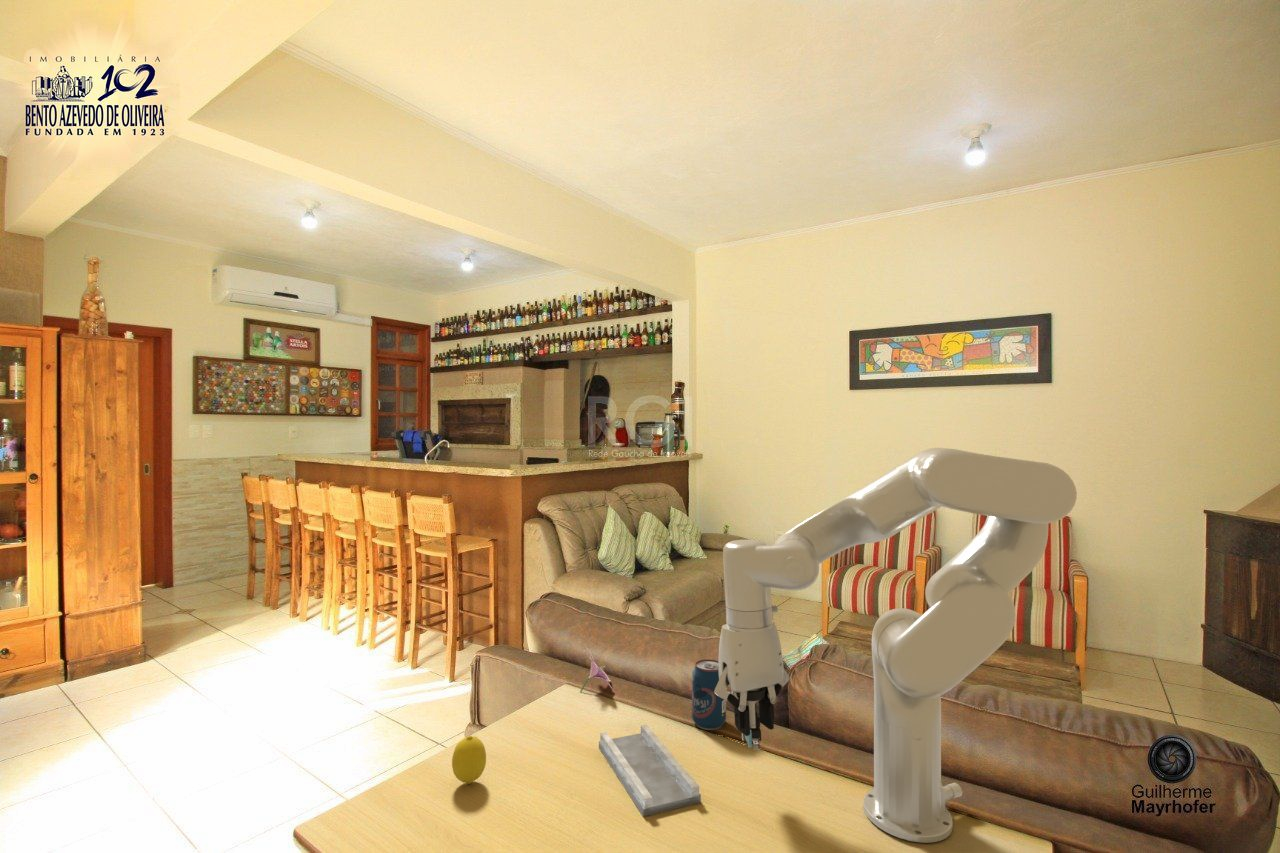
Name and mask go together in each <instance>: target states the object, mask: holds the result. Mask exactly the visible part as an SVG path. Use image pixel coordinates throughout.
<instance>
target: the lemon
mask: <svg viewBox="0 0 1280 853" xmlns="http://www.w3.org/2000/svg"><path fill="white" fill-rule="evenodd" d="M451 765H452V766H451V767H452V771H453V772H452V773H453V775H454V776H455V778H456V779H457V780H458V781H460V782H462V783H466V784H467V785H471V784H472V783H473V782H474V781H476V780H478V778H480V777H481V776H482V774H483V772H484V771H485V768H486V765H487V752H486V747H485V745H484V743H483V742H482V740H481V739H479V737H476V736H472V735H467V736H466V737H464V738H462V739H461V740H460V741H459V742H458V743H457V744H456V745H455V748H454V750H453V754H452V759H451Z"/></svg>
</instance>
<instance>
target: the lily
mask: <svg viewBox="0 0 1280 853" xmlns="http://www.w3.org/2000/svg"><path fill="white" fill-rule="evenodd" d="M583 645H584V647H586V649H587V650H588V652H589V654H590V656H588V658H589V659H590V673H589V676H588V678H587V679H586V680H585V682H584V684H583V685H582V688H581V690H580V692H579V693H582V692H583V690H584V688H585V686H586V684H587V683H588V681H589V680H590V679H591V678H596V679H598V680H602V681H603V682H605V683H606V684H607V685H608V686H609V687H610V689H611V690H612V691H613V693H615V691H614V689H613V688H612V686H611V685H610V683H612V681H611V680H610V678H609V676H608V675H607V673H606V672H605V671H604V668H605V667H607V666H606V665H604V664H602V665H601V666H598V665H597V664H596V663H595V659H594V656H593V654H592V652H591V651H590V649H589V647H587V645H586V644H585V643H583Z"/></svg>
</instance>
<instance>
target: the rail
mask: <svg viewBox="0 0 1280 853" xmlns="http://www.w3.org/2000/svg"><path fill="white" fill-rule="evenodd" d="M599 735H600V738H599V739H600V741H598V749H599V750H600V752H601V753H602V755H603V757H604V758H605V760H606V761H607V763H608V764H609V766H610V768H611V769H612V770H613V772H614V773H615V775H616V777H617V778H618V780H619V781H620V783H621V785H622V786H623V788H624V789H625V791H626V792H627V794H628V796H629V797H630V799H631V800H632V802H633V804H634V805H635V807H636V808H637V810H638V812H640V814H641V816H642V818H645V817H649V816H653V815H657V814H661V813H665V812H668V811H673V810H675V809H681V808H684V807H688V806H693V805H695V804H699V803H702V795H701V794H700V785H699V784H698V783H697V781H696V780H695V779H694V778H693V777H692V775H691V774H690V773H689V772H688V771H687V770H686V769H685V768H684V766H683V765H682V764H681V763H680V762H679V761H678V759H677V758H676V757H675V756H674V755H673V753H671V751H670V750H669V749H668V748H667V747H666V745H665V744H664V743H663V742H662V741H661V740H660V738H658V736H657V735H656V734H655V733H654V731H653V730H652V729H651V728H650V726H648V724H642V725H640V732H639V733H636V734H635V733H634V734H630V735H625V736H621V737H615V738H611V736H610V735H609V733H608V732H607V731H604V732H601V733H600V734H599Z"/></svg>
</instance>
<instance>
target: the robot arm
mask: <svg viewBox="0 0 1280 853" xmlns="http://www.w3.org/2000/svg"><path fill="white" fill-rule="evenodd" d="M1077 494H1078V493H1077V488H1076V485H1075V482H1074V480H1073V479H1072V478H1071V476H1070V475H1069V474H1068V473H1066V471H1065V470H1064V469H1061V468H1060V467H1058V466H1056V465H1054V464H1050V463H1046V462H1042V461H1035V460H1027V459H1026V460H1025V459H1017V458H1012V457H1004V456H996V455H989V454H984V453H976V452H972V451H968V450H967V451H966V450H961V449H957V448H956V449H955V448H944V447H932V448H927V449H925V450H923V451H921V452H920V451H919V452H918V453H917V454H915V455H913V456H912V457H910V458H909V459H907V460H905V461H904V462H902V463H901V464H899V465H897V466H896V467H894V468H893V469H890V470H889V471H888V472H886V473H884V474H883V475H882V476H879V477H878V478H876V479H874V480H873V481H872V482H870V483H868V484H866V485H865V486H863V487H862V488H860V489H858V490H857V491H855V492H853V493H851V494H850V495H847V496H846V497H844V498H843V499H840V500H839V501H838V502H836V503H834V504H833V505H831V506H829V507H827V508H824V509H823V510H821V511H820V512H817V513H815V514H814V515H813V516H811V517H809V518H807V519H806V520H804V521H803V522H801V523H799V524H797V525H796V526H795V527H793V528H791V529H790V530H788V531H787V532H785V533H783V534H782V535H780V536H779V538H777V539H776V541H775V542H774V543H773V545H772V544H771V545H767V544H766V543H765V542H764V541H761V540H757V539H736V540H735V539H734V540H732V541H729V542H727V543H726V544H724V547H723V550H722V555H723V556H722V560H723V580H724V583H723V584H724V598H725V602H724V603H725V615H726V616H725V618H726V624H723V625H722V626H721V629H720V635H719V636H720V637H719V643H718V661H719V681H718V684H717V686H716V688H715V690H714V693H715V694H716V695H717V696H719V697H720V698H722V699H724V700H726V702H729V704H730V705H731V706H733V710H734V711H733V712H734V725H735V727H736V728H735V729H737V730H738V731H739V732H740V733H741V734H742V733H743V736H744V735H745V736H749V735H750V720H749V711H748V710H747V709H746V699H747V691H750V690H755V689H759V688H763V687H765V688H766V691H765V697H764V698H762V699H761V700H760V701H758V711H759V712H758V714H759V715H758V716H759V718H760V724H761V725H763V726H764V727H765V728H767V729H768V730H774V729H775V727H774V726H775V724H774V721H775V709H774V708H775V704H776V703H777V697H778V696H779V694H780V692H781V690H782V689H783V688H784V686H785V685H786V684H787V683H788V682H789V681H790V680H791V679H790V675H789V674H788V672H787V671H786V669H785V667H784V659H783V653H782V652H783V651H782V644H781V640H780V635H779V632H778V627H777V624H776V622H774V621H773V620H774V614H777V613H778V610H779V609H778V606H777V605H776V604H773V603H772V601H773V600H772V588H773V589H779V590H786V591H792V592H793V591H802V590H806V589H808V588H810V587H811V586H812V585H813V584H814V583H816V580H817V579H818V576H819V572H820V564H822V563H823V562H825V561H827V560H828V559H830V558H831V557H834V556H835V555H837V554H839V553H842V552H843V551H845V550H846V549H850V548H852V547H855V546H858V545H863V544H864V545H865V544H874V543H878V542H882V541H885V540H888V539H890V538H892V537H893V536H895V535H896V534H898V533H900V532H901V531H903V530H905V529H906V528H907V527H909V526H911V525H912V524H915V523H916V522H918V521H919V520H921V519H923V518H924V517H926V516H928V515H930V514H932V513H933V512H935V511H936V510H938V509H940V508H946V509H949V510H950V509H951V510H956V511H959V512H960V511H961V512H965V513H968V514H969V513H970V514H975V515H979V516H986V519H985V521H984V524H983V526H982V527H981V529H980V530H979V532H977V533H976V534H975V536H974V537H973V538H971V540H970V541H969V542H968V543H967V544H966V545H965V546H964V547H962V549H961V550H960V551H959V552H957V553H956V554H955V555H954V556H953V557H952V558H951V559H950V560H948V561H947V562H946V563H945V564H944V565H943V566H941V568H939V569H938V570H937V571H936V572H935V573H934V574H933V575H931V577H930V578H929V580H928V582H927V584H926V586H925V589H924V590H925V593H924V594H925V600H926V603H927V605H928V606H929V608H928V609H927V610H926V611H924V612H923V614H921V613H919V612H917V611H915V610H913V609H909V608H903V607H901V608H900V607H899V608H893V609H890V610H887V611H886V612H884V613H883V614H881V615H880V616H879V617H878V619H877V620H876V622H875V624H874V626H873V629H872V633H871V634H872V635H871V655H872V656H871V658H872V672H873V705H874V706H873V788H872V789H870V790H869V791H867V792H866V793H865V795H864V797H863V804H862V806H863V810H864V813H865V815H866V816H867V818H868V819H869V820H870V822H871V823H873V824H874V825H875V826H876V827H877V828H879V829H880V830H882V831H883V832H885V833H886V834H889V835H891V836H892V837H896V838H899V839H901V840H905V841H908V842H914V843H920V844H921V843H923V844H930V843H937V842H940V841H943V840H945V839H948V837H950V835H951V834H952V832H953V826H954V824H953V817H952V814H951V813H950V812H949V810H948V809H947V807H946V804H948V803H949V801H950V800H953V799H956V798H959V797H962V795H963V789H962V787H961V786H960V784H958V783H957V782H952V783H949V784H945V785H944V786H943V783H942V699H941V697H942V696H943V695H945V694H946V693H948V692H949V691H951V690H952V689H953V688H954V687H956V686H957V685H958V684H960V683H961V682H962V681H963V680H965V678H966V677H968V676H969V675H970V674H972V672H974V671H975V670H976V669H977V668H978V667H979V666H980V665H981V664H982V663H984V662H985V661H986V660H987V659H988V658H989V657H991V656H992V655H993V654H994V653H995V652H997V650H998V649H999V648H1000V647H1001V646H1002V645H1003V644H1004V643H1005V642H1006V641H1007V639H1008V638H1009V637H1010V636H1011V633H1012V631H1013V628H1014V626H1015V623H1016V618H1017V616H1016V606H1015V604H1014V601H1013V598H1012V597H1011V595H1010V593H1012V591H1014V589H1016V588H1017V587H1018V586H1019V585H1020V583H1022V581H1023V580H1025V578H1026V577H1027V576H1028V575H1029V574H1031V572H1032V571H1033V570H1035V568H1036V567H1037V565H1038V564H1039V563H1040V561H1041V559H1042V558H1043V556H1044V553H1045V551H1046V549H1047V548H1046V547H1047V544H1048V538H1049V524H1052V523H1055V522H1058V521H1060V520H1062V519H1063V518H1065V517H1066V516H1068V515H1069V514H1070V513H1071V512H1072V511H1073V509H1074V507H1075V505H1076V502H1077ZM729 685H730V690H731V692H730V691H728V688H729ZM738 693H739V698H738ZM745 736H744V737H745Z"/></svg>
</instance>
